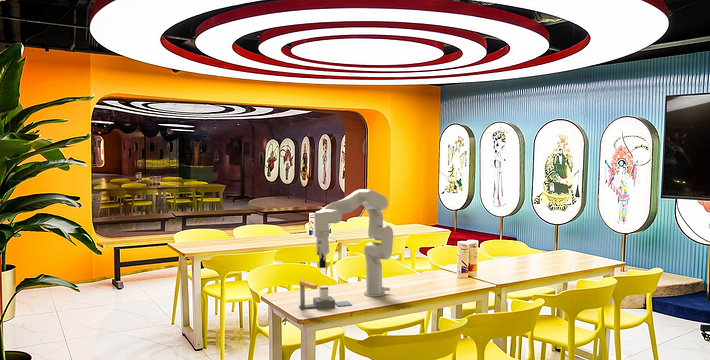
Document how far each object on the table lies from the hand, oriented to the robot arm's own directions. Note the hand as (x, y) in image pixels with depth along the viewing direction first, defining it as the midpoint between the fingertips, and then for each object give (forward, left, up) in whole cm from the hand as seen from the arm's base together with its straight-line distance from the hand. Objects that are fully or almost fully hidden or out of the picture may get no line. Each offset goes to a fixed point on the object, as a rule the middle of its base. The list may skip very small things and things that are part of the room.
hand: (322, 267), depth 272 cm
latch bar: (+8, -1, -10) cm, 13 cm away
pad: (-13, -7, -23) cm, 27 cm away
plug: (-2, -7, -23) cm, 24 cm away
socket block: (+2, -7, -23) cm, 24 cm away
